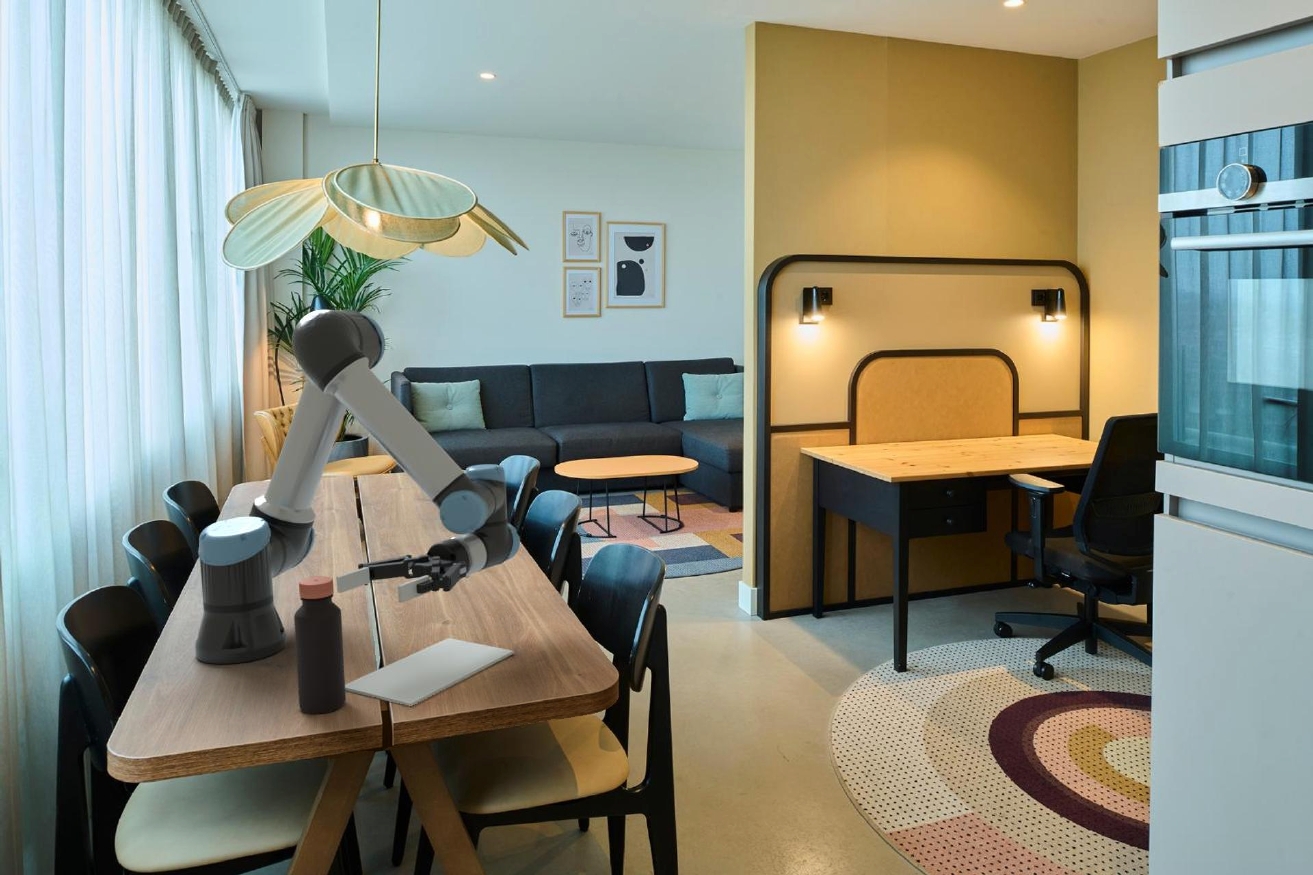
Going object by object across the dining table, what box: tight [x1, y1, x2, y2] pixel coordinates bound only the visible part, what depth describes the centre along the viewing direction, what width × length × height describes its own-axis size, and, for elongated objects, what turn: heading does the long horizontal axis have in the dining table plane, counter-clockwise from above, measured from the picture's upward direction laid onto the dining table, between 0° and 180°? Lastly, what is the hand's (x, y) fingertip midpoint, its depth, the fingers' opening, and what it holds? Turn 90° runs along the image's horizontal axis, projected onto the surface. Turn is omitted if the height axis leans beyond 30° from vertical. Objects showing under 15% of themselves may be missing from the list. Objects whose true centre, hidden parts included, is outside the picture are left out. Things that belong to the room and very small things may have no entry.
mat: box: [345, 637, 514, 707], centre depth 158 cm, size 15×26×1 cm, turn 152°
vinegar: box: [293, 575, 347, 715], centre depth 142 cm, size 7×7×20 cm
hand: (368, 589), depth 150 cm, fingers open, 13 cm apart
